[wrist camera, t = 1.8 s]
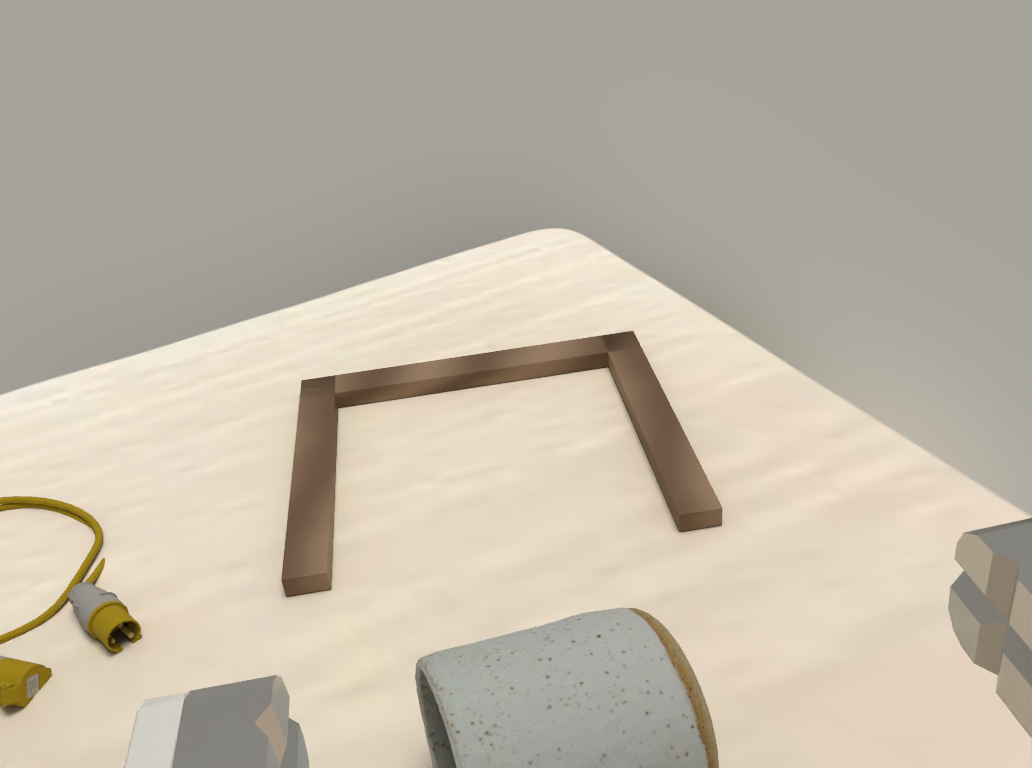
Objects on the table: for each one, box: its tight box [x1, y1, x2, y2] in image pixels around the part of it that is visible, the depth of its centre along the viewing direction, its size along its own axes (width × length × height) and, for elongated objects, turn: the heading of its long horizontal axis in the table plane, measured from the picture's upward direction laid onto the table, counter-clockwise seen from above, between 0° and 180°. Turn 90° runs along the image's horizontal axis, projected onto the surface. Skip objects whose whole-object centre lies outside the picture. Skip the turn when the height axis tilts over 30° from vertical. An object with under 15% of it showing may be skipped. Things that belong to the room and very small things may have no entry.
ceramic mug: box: [415, 608, 719, 768], centre depth 32 cm, size 11×8×8 cm
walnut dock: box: [282, 331, 722, 596], centre depth 50 cm, size 20×17×1 cm
